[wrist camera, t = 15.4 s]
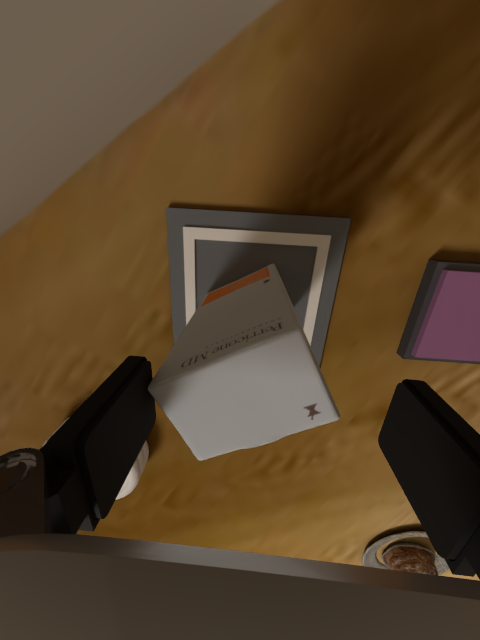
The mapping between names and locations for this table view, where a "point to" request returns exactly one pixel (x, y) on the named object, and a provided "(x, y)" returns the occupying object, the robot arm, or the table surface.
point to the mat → (256, 260)
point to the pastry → (405, 556)
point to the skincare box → (243, 371)
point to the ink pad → (445, 315)
